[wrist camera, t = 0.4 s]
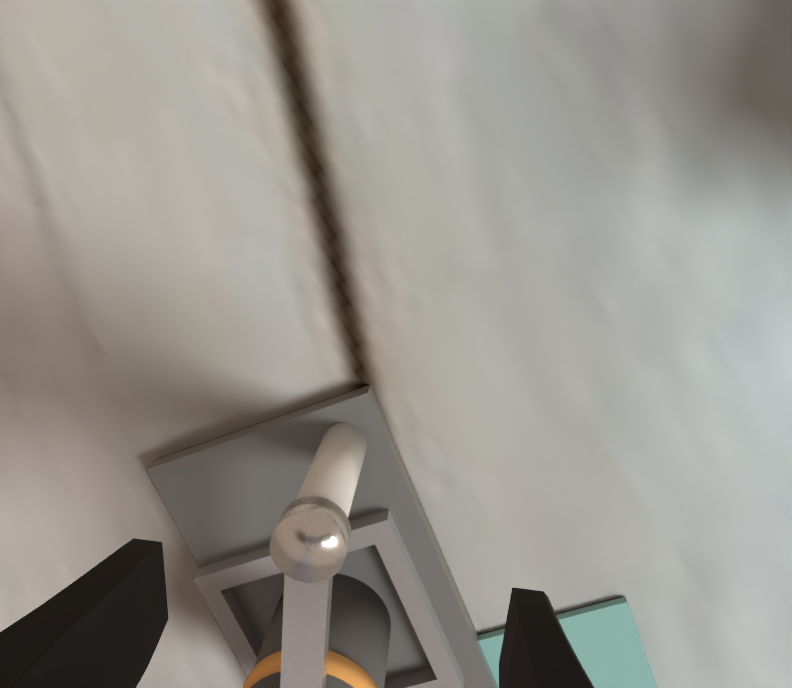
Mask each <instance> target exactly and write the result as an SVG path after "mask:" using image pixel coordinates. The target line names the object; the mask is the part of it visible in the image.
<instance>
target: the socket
mask: <svg viewBox="0 0 792 688" xmlns="http://www.w3.org/2000/svg"><path fill="white" fill-rule="evenodd" d="M146 472H147V473H148V475H149V477H150V479H151V481H152V482H153V484H154V486H155V488H156V490H157V491H158V493H159V495H160V497H161V499H162V501H163V502H164V504H165V506H166V508H167V510H168V511H169V513H170V515H171V517H172V519H173V521H174V522H175V524H176V526H177V528H178V530H179V531H180V533H181V535H182V537H183V539H184V540H185V542H186V544H187V546H188V548H189V550H190V551H191V553H192V555H193V557H194V559H195V560H196V562H197V564H198V566H199V569H198V571H197V573H196V574H195V576H194V578H193V581H194V583H195V585H196V587H197V588H198V590H199V592H200V594H201V596H202V597H203V599H204V601H205V603H206V604H207V606H208V608H209V610H210V612H211V613H212V615H213V617H214V619H215V621H216V622H217V624H218V626H219V628H220V630H221V631H222V633H223V635H224V637H225V639H226V640H227V642H228V644H229V646H230V648H231V649H232V651H233V653H234V655H235V656H236V658H237V660H238V662H239V664H240V665H241V667H242V669H243V671H244V673H245V674H246V676H247V677H248V675H249V673H250V672H251V671H252V669H253V668H254V666H255V663H256V660H257V658H258V655H259V652H260V650H261V647H262V644H263V642H264V639H265V636H266V634H267V631H268V628H269V626H270V623H271V620H272V618H273V615H274V612H275V610H276V607H277V604H278V602H279V599H280V598H281V596H282V594H283V593H284V573H282V572H281V571H280V570H279V569H278V568H277V566H276V565H275V563H274V562H273V560H272V557H271V554H270V540H271V536H272V534H273V532H274V530H275V528H276V525H277V523H278V521H279V519H280V517H281V514H282V512H283V511H284V509H285V508H286V507H287V506H288V505H289V504H290V503H291V502H293V501H295V500H297V499H299V498H302V497H309V496H315V497H322V498H325V499H328V500H330V501H332V502H334V503H335V504H337V505H338V506H339V507H340V508H341V509H342V510H343V511H344V512H345V514H346V515H347V517H348V519H349V522H350V526H351V535H350V540H349V544H348V548H347V552H346V556H345V560H344V563H343V565H342V567H341V569H340V570H339V571H338V572H337V573H336V574H342V575H347V576H350V577H353V578H355V579H357V580H359V581H362V582H363V583H365V584H366V585H368V586H369V587H370V588H372V589H373V590H374V591H375V592H376V593H377V594H378V595H379V596H380V597H381V599H382V600H383V601H384V603H385V605H386V607H387V609H388V612H389V615H390V619H391V632H390V641H389V649H388V658H387V666H386V675H385V684H384V688H498V685H497V683H496V681H495V679H494V676H493V674H492V672H491V669H490V667H489V665H488V662H487V660H486V658H485V655H484V653H483V651H482V648H481V646H480V644H479V641H478V634H477V632H476V630H475V627H474V625H473V623H472V620H471V618H470V616H469V613H468V611H467V609H466V606H465V604H464V602H463V599H462V597H461V595H460V592H459V590H458V588H457V585H456V583H455V581H454V579H453V576H452V574H451V572H450V569H449V567H448V565H447V562H446V560H445V558H444V555H443V553H442V551H441V548H440V546H439V544H438V541H437V539H436V537H435V534H434V532H433V530H432V527H431V525H430V523H429V520H428V518H427V516H426V513H425V511H424V509H423V506H422V504H421V502H420V499H419V497H418V495H417V492H416V490H415V488H414V485H413V483H412V481H411V478H410V476H409V474H408V472H407V469H406V467H405V465H404V462H403V460H402V458H401V455H400V453H399V451H398V448H397V446H396V444H395V441H394V439H393V437H392V434H391V432H390V430H389V427H388V425H387V423H386V420H385V418H384V416H383V413H382V411H381V409H380V406H379V404H378V402H377V399H376V397H375V395H374V392H373V390H372V388H371V385H368V386H365V387H362V388H359V389H357V390H354V391H351V392H348V393H345V394H342V395H339V396H337V397H334V398H331V399H328V400H325V401H322V402H319V403H317V404H314V405H311V406H308V407H305V408H302V409H299V410H296V411H294V412H291V413H288V414H285V415H282V416H279V417H276V418H274V419H271V420H268V421H265V422H262V423H259V424H256V425H254V426H251V427H248V428H245V429H242V430H239V431H236V432H233V433H231V434H228V435H225V436H222V437H219V438H216V439H213V440H211V441H208V442H205V443H202V444H199V445H196V446H193V447H191V448H188V449H185V450H182V451H179V452H176V453H173V454H170V455H168V456H165V457H162V458H159V459H156V460H155V461H154V462H153V463H152V464H151V465H150V466H149V467H148V468H147V469H146Z"/></svg>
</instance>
